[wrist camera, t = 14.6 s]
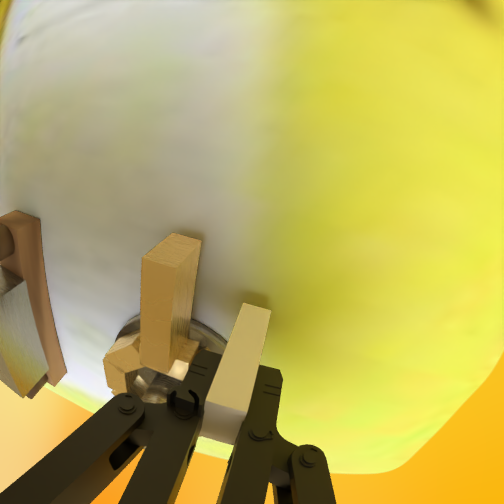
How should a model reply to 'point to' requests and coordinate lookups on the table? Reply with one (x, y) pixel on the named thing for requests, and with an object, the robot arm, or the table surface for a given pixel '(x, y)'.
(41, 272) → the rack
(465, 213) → the table surface
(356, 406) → the table surface
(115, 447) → the robot arm
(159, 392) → the nut station
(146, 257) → the golden ring with handle
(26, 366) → the bar
